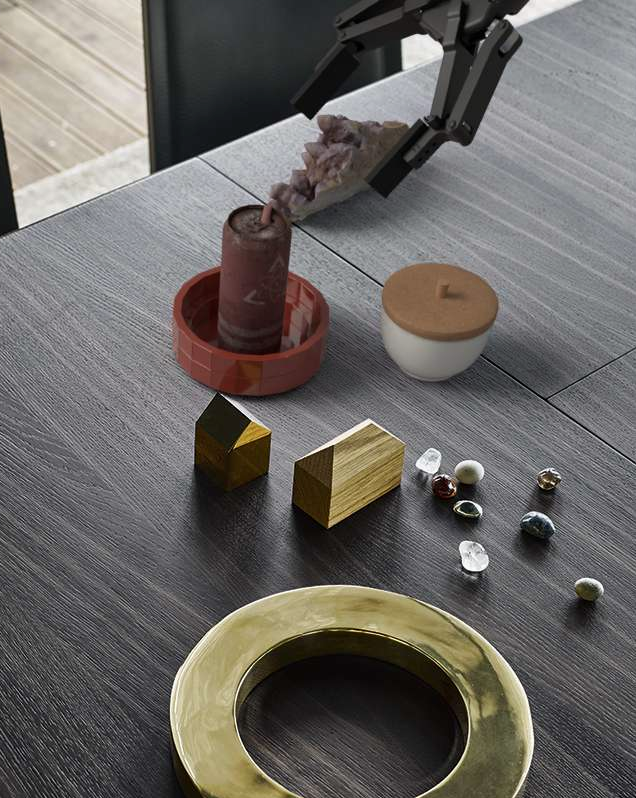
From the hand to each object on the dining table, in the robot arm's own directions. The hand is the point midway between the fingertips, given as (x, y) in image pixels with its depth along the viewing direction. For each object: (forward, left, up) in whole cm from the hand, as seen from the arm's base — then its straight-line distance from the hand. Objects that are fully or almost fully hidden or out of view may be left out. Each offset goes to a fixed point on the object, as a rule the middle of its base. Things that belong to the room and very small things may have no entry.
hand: (335, 149), depth 108 cm
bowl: (+5, +5, -20) cm, 22 cm away
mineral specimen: (+5, -25, -21) cm, 33 cm away
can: (+5, +5, -20) cm, 21 cm away
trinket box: (-11, -1, -21) cm, 24 cm away
